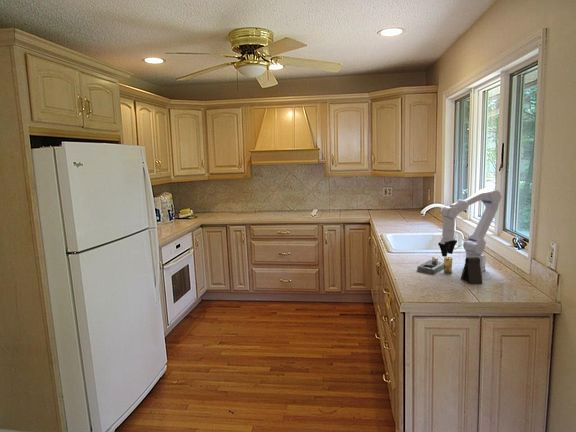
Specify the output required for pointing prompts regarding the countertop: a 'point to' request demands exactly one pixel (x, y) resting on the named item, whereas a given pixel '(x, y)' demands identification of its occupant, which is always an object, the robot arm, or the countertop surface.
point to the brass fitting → (447, 265)
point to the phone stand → (472, 271)
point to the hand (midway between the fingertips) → (447, 254)
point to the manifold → (431, 266)
